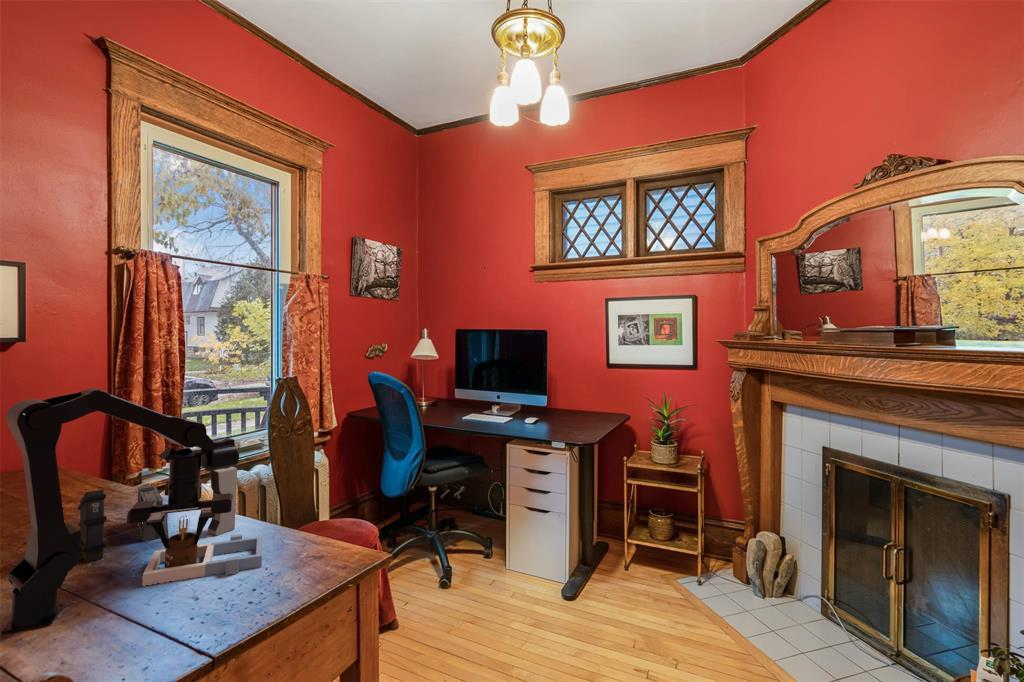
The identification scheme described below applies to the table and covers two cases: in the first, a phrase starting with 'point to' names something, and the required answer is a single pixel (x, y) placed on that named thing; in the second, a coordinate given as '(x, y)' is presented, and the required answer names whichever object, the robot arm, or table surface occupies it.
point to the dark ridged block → (92, 525)
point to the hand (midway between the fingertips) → (181, 545)
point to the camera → (151, 495)
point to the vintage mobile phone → (224, 484)
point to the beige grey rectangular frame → (207, 561)
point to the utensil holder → (181, 548)
